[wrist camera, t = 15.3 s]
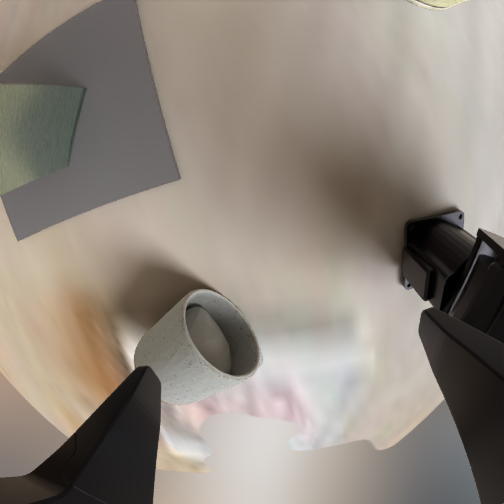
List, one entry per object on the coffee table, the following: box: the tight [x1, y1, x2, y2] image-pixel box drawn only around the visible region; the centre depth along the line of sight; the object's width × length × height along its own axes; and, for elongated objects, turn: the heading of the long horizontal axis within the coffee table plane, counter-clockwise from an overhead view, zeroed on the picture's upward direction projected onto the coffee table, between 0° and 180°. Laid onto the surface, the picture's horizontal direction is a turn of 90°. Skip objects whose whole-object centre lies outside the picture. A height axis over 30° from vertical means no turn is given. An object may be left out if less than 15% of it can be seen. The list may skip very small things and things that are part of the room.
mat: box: [0, 0, 181, 241], centre depth 16 cm, size 18×16×1 cm
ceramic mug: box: [134, 289, 263, 405], centre depth 21 cm, size 11×8×8 cm
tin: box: [0, 84, 87, 196], centre depth 10 cm, size 6×6×11 cm
